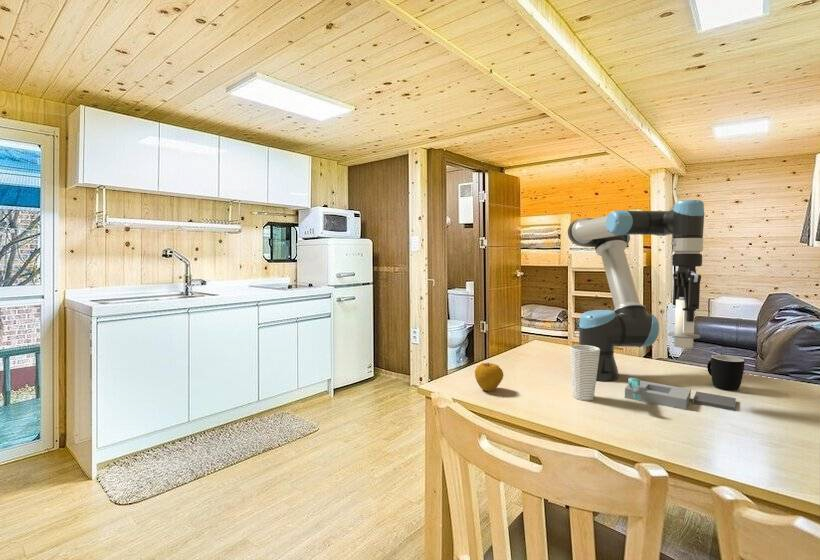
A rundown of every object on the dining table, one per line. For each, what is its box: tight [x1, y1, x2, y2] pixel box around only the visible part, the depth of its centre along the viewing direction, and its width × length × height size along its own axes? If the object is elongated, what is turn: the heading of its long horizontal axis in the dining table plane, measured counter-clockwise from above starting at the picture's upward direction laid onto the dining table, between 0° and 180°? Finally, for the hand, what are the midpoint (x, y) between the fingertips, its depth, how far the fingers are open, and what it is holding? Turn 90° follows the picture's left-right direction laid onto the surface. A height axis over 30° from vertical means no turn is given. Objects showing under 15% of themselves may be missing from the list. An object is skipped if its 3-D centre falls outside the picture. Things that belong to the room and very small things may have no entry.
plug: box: [668, 297, 701, 349], centre depth 130 cm, size 8×8×15 cm
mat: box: [692, 391, 737, 412], centre depth 131 cm, size 10×10×1 cm
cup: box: [569, 344, 600, 402], centre depth 133 cm, size 8×8×16 cm
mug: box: [706, 354, 746, 392], centre depth 146 cm, size 12×9×10 cm
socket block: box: [624, 379, 692, 411], centre depth 134 cm, size 16×12×4 cm
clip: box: [627, 377, 642, 401], centre depth 128 cm, size 17×3×3 cm, turn 156°
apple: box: [474, 362, 504, 392], centre depth 140 cm, size 9×9×9 cm
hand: (684, 331), depth 131 cm, fingers closed on plug, 5 cm apart
